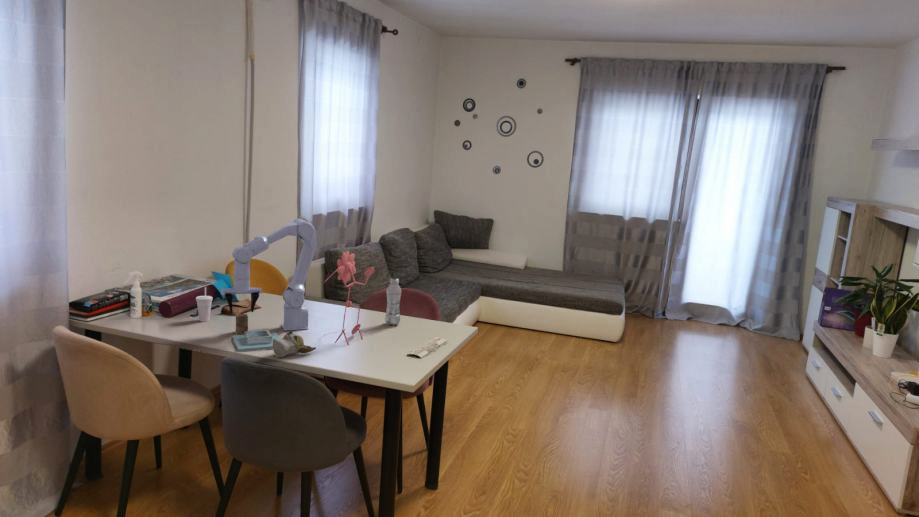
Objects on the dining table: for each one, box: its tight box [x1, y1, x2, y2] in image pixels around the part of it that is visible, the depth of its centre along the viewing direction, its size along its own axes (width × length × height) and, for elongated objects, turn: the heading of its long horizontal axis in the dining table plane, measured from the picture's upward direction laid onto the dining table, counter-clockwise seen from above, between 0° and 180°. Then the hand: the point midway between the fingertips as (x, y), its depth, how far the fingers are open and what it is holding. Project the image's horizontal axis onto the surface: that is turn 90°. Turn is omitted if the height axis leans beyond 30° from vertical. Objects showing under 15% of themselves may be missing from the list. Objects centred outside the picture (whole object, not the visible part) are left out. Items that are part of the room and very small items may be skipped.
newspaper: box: [406, 336, 447, 359], centre depth 241 cm, size 24×7×2 cm, turn 159°
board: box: [232, 332, 281, 353], centre depth 234 cm, size 16×16×1 cm
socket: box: [243, 329, 272, 345], centre depth 234 cm, size 9×9×2 cm
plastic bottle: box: [384, 277, 402, 326], centre depth 267 cm, size 6×7×20 cm
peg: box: [235, 313, 249, 335], centre depth 244 cm, size 4×4×7 cm
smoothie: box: [195, 286, 214, 323], centre depth 255 cm, size 6×6×14 cm
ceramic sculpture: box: [272, 331, 317, 358], centre depth 224 cm, size 11×9×15 cm
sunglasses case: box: [220, 298, 262, 317], centre depth 274 cm, size 18×7×7 cm
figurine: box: [319, 250, 376, 346], centre depth 242 cm, size 15×26×35 cm, turn 153°
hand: (241, 312), depth 243 cm, fingers open, 7 cm apart
